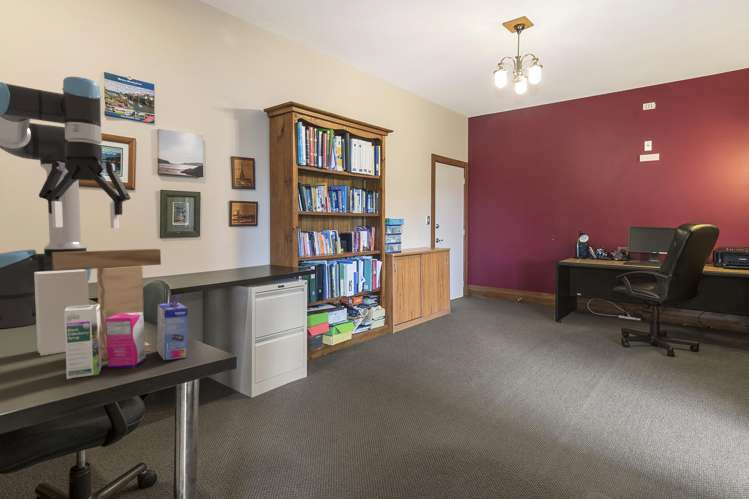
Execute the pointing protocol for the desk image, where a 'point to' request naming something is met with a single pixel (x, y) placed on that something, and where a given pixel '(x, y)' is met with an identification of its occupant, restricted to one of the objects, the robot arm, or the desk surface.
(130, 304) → the stand
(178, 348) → the ink cartridge box
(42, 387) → the desk surface
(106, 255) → the rail
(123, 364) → the supplement box
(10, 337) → the desk surface
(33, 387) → the desk surface
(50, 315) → the pedestal
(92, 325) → the syrup box
